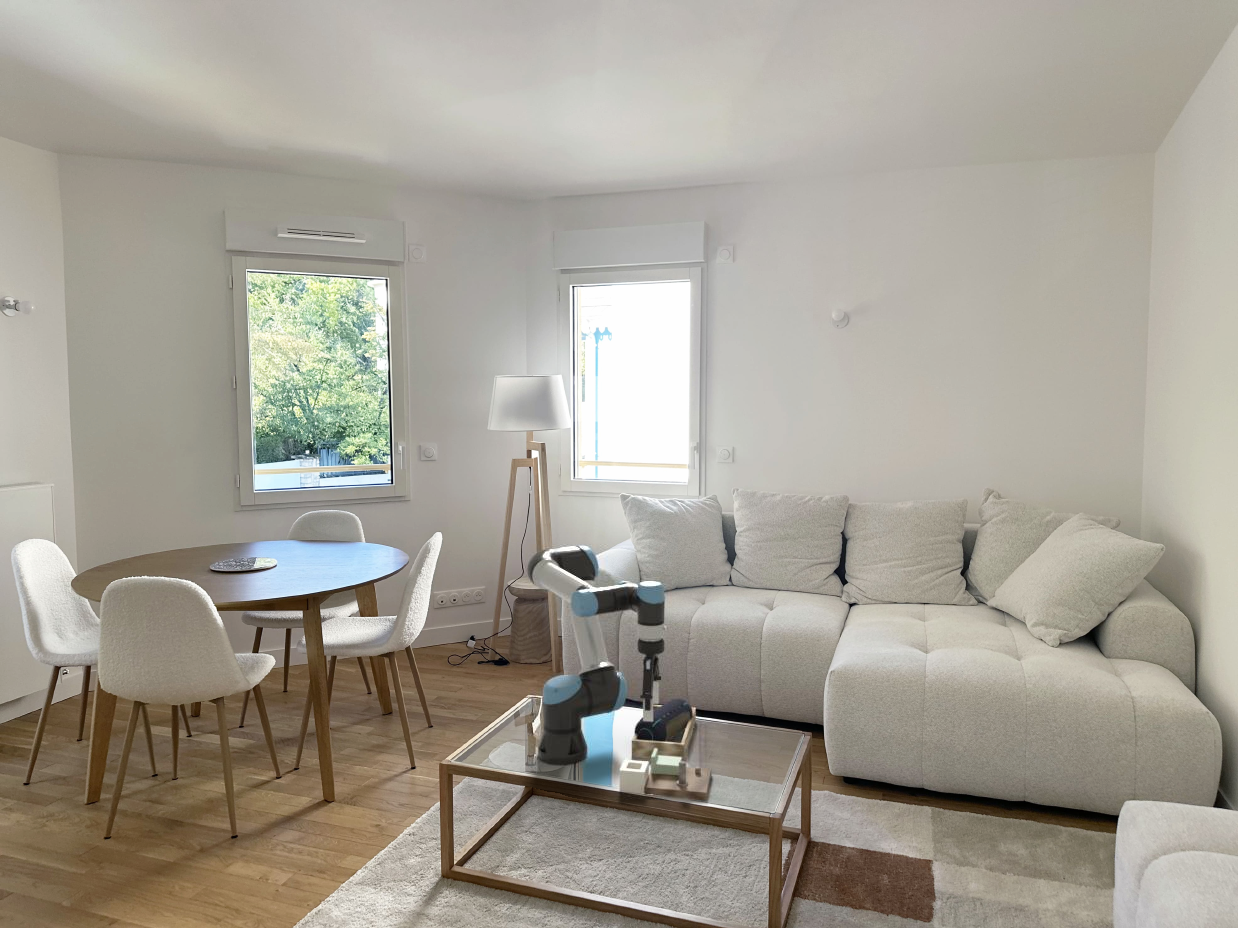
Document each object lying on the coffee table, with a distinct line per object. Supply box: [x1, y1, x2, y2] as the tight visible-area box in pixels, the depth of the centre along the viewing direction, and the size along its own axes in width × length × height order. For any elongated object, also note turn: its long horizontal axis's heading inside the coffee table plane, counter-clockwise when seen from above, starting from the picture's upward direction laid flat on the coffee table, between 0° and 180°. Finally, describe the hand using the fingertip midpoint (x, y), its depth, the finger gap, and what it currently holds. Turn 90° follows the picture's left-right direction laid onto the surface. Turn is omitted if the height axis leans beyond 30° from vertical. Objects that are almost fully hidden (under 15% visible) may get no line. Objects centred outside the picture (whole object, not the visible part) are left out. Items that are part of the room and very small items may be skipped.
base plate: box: [643, 760, 712, 801], centre depth 236 cm, size 17×15×8 cm
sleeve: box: [619, 759, 650, 794], centre depth 235 cm, size 7×7×6 cm
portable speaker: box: [633, 698, 693, 742], centre depth 268 cm, size 25×10×10 cm, turn 146°
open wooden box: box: [631, 704, 697, 762], centre depth 269 cm, size 16×31×5 cm, turn 168°
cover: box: [650, 748, 682, 776], centre depth 241 cm, size 8×6×5 cm
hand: (651, 711), depth 236 cm, fingers open, 13 cm apart
